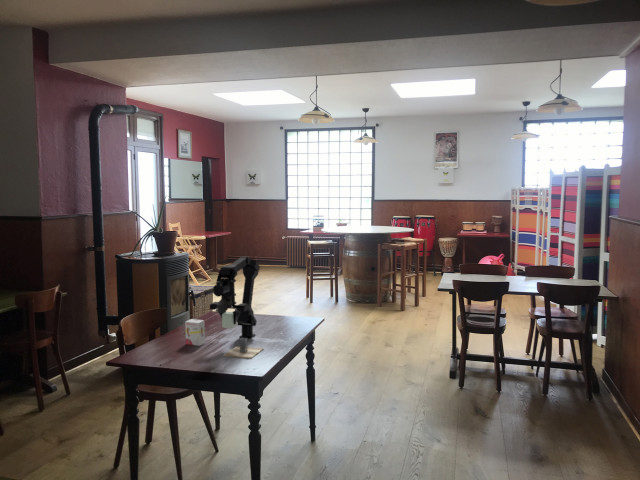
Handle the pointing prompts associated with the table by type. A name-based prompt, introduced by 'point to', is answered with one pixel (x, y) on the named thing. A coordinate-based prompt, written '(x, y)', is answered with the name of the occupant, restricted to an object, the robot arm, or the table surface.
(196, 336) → the ink box
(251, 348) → the post board
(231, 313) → the mint green box
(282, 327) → the table surface
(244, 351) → the post
